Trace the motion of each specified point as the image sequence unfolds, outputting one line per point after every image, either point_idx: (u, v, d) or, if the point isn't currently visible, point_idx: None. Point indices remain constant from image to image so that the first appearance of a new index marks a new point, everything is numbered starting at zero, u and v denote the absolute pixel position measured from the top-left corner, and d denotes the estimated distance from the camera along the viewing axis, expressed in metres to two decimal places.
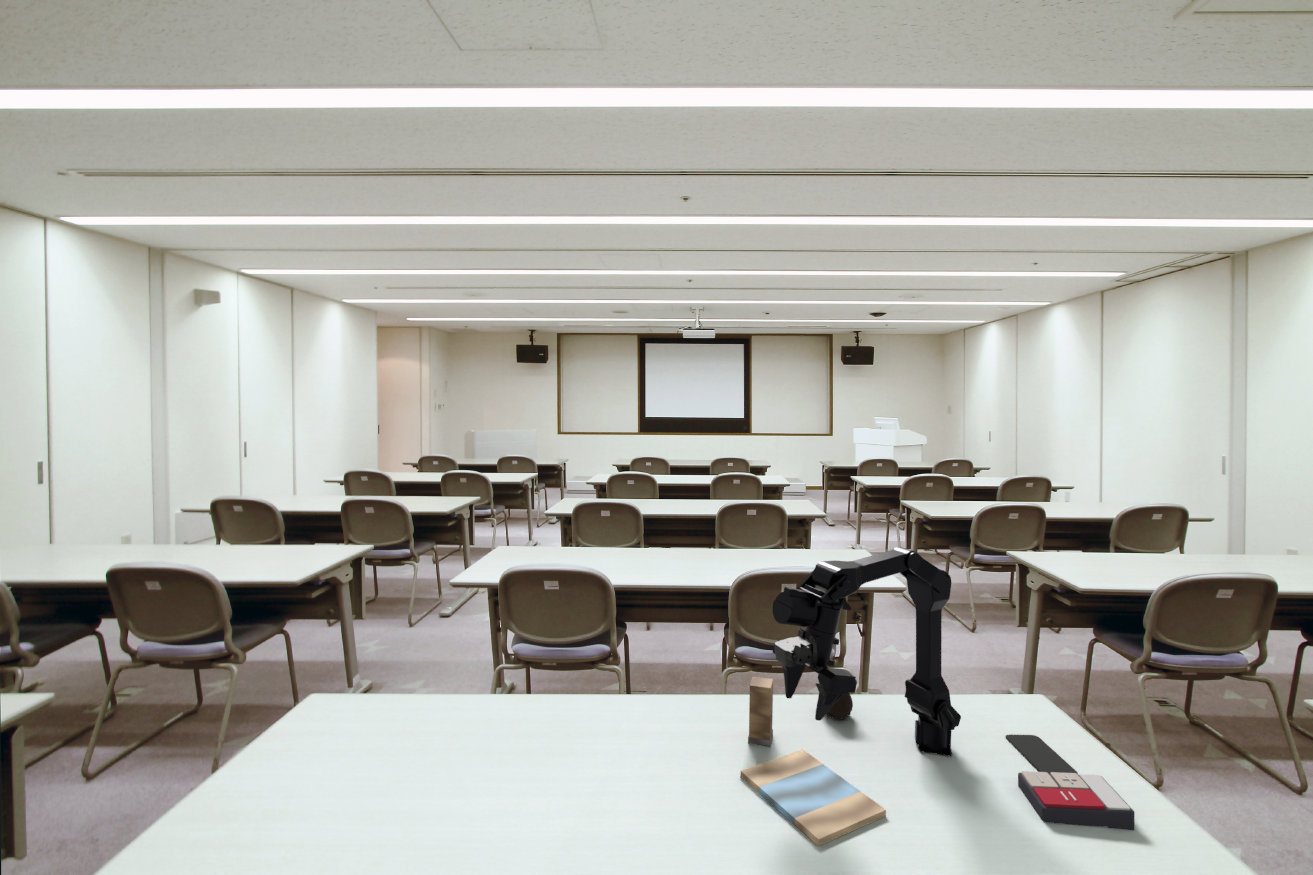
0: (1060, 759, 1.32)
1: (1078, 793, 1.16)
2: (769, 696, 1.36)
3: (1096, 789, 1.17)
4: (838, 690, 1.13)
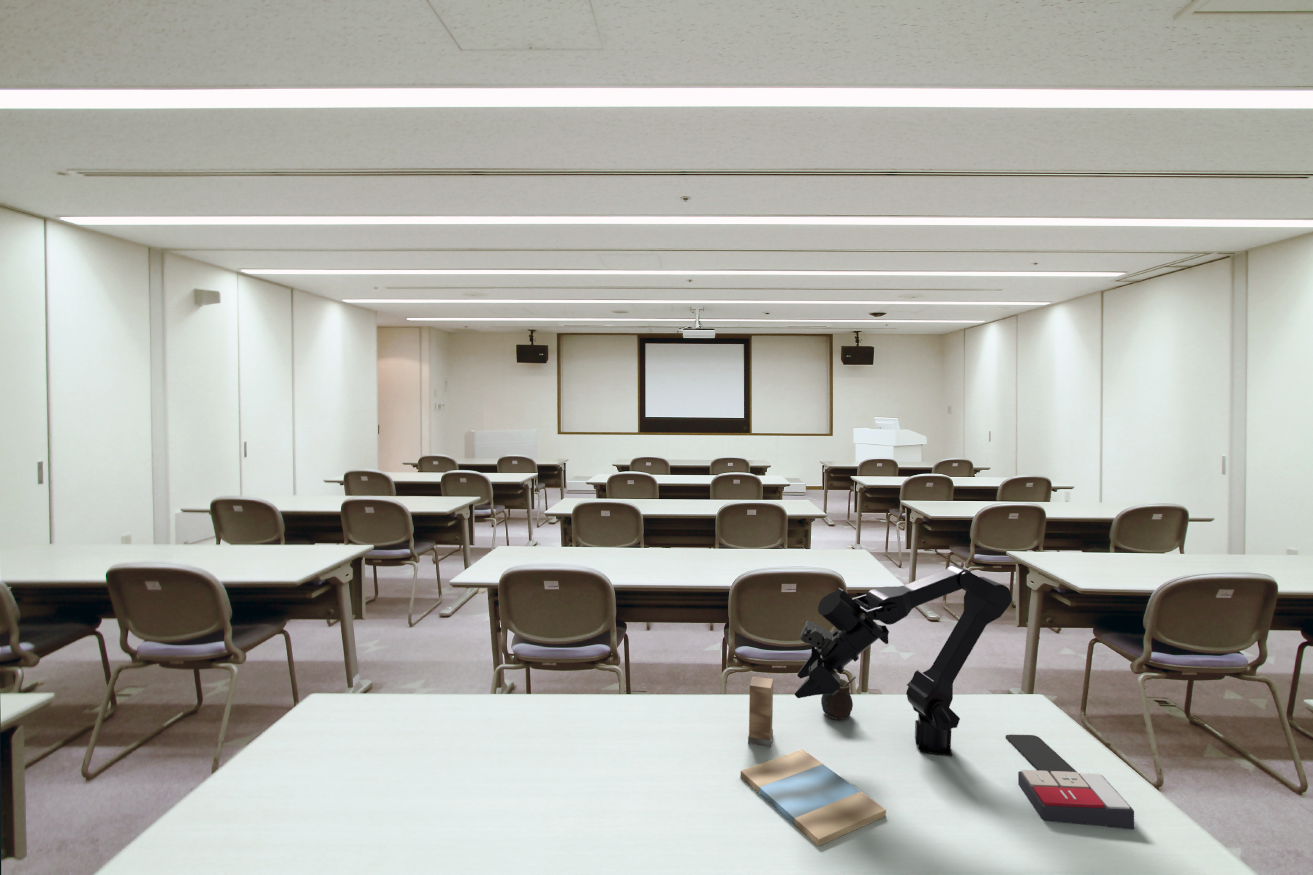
0: (1060, 759, 1.32)
1: (1078, 792, 1.16)
2: (769, 696, 1.36)
3: (1096, 788, 1.18)
4: (817, 679, 1.26)
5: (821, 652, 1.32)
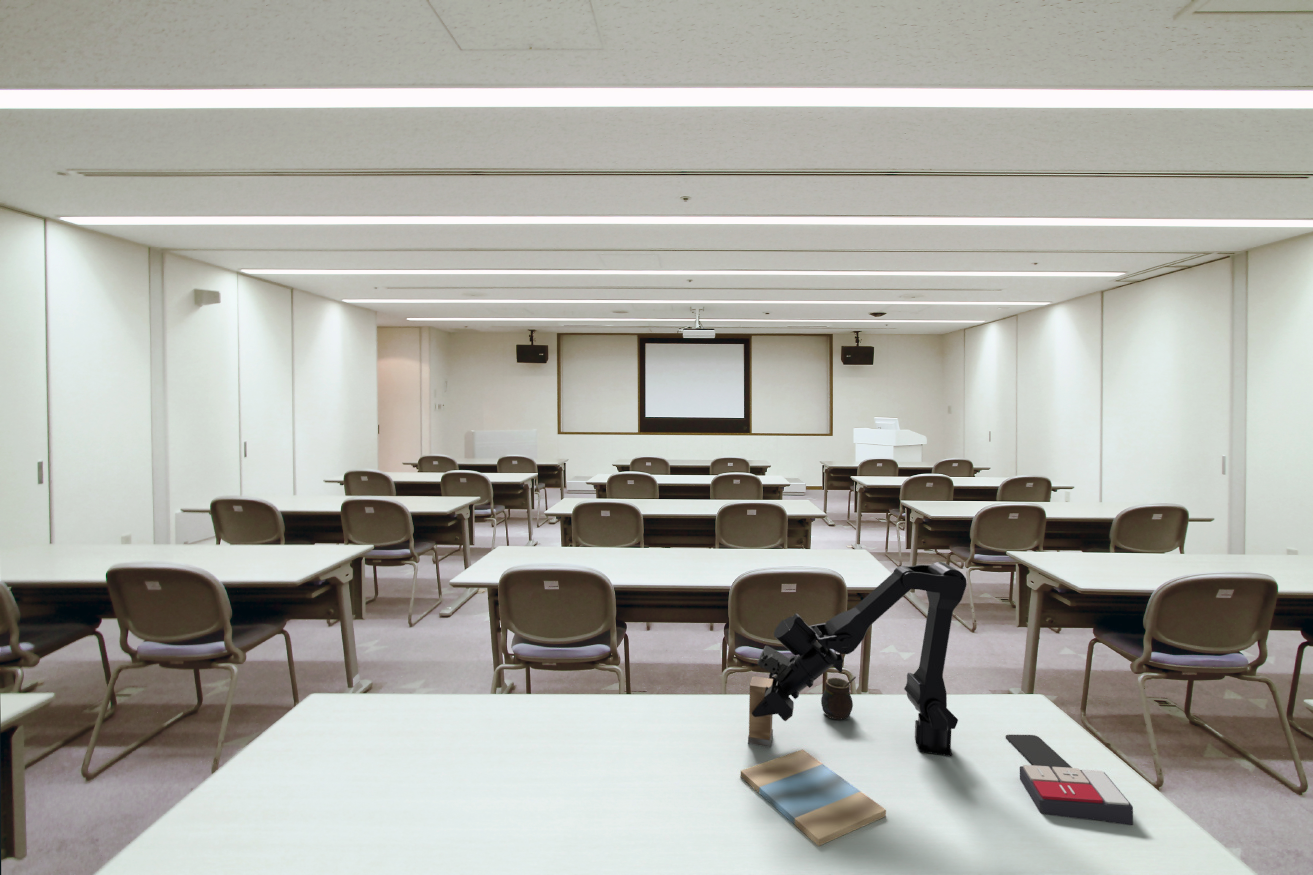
0: (1060, 759, 1.32)
1: (1077, 787, 1.18)
2: None
3: (1096, 784, 1.19)
4: (770, 704, 1.29)
5: (777, 677, 1.35)
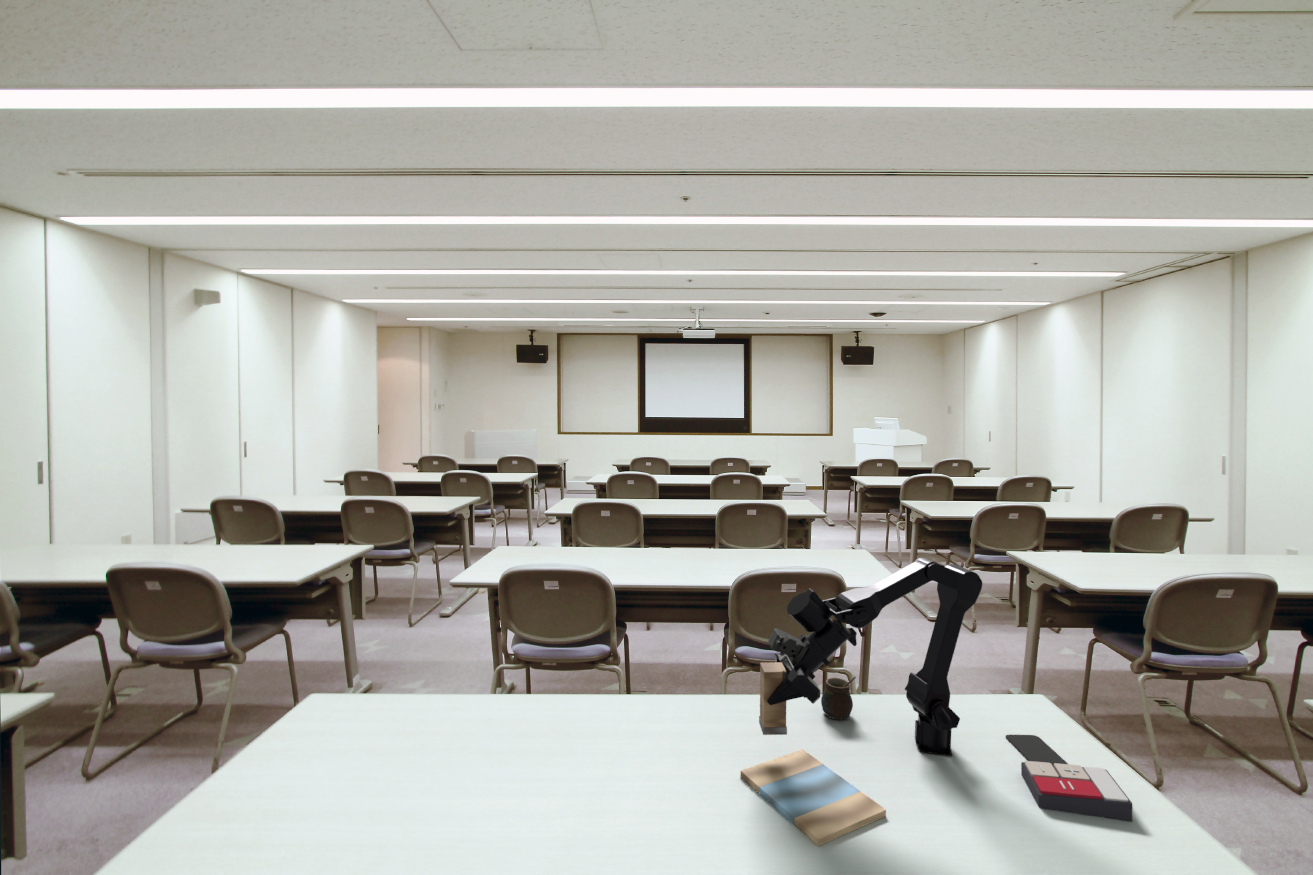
0: (1060, 759, 1.32)
1: (1077, 783, 1.19)
2: None
3: (1097, 781, 1.20)
4: (798, 688, 1.21)
5: (794, 660, 1.28)
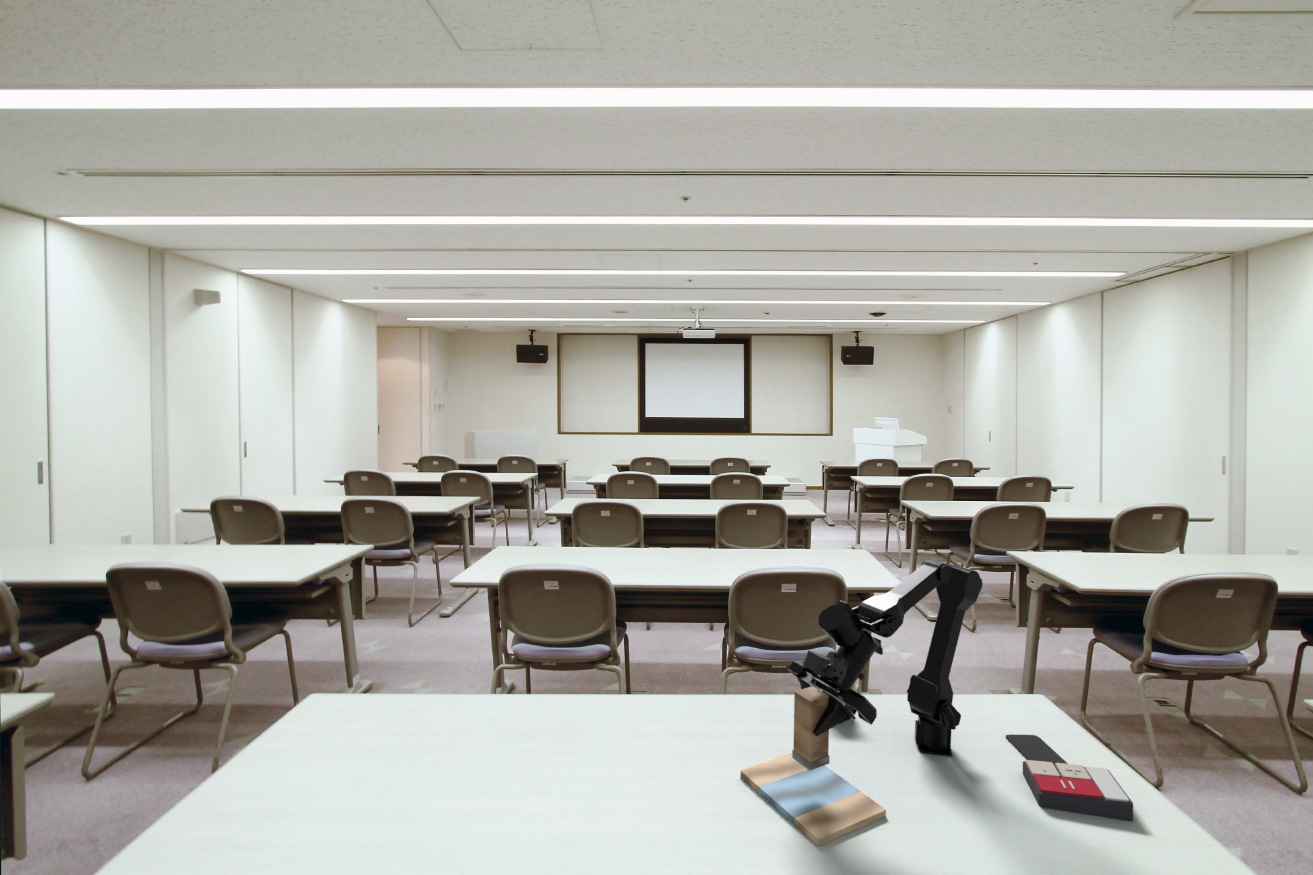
0: (1060, 759, 1.32)
1: (1078, 782, 1.19)
2: None
3: (1098, 781, 1.20)
4: (861, 712, 1.12)
5: (837, 681, 1.18)
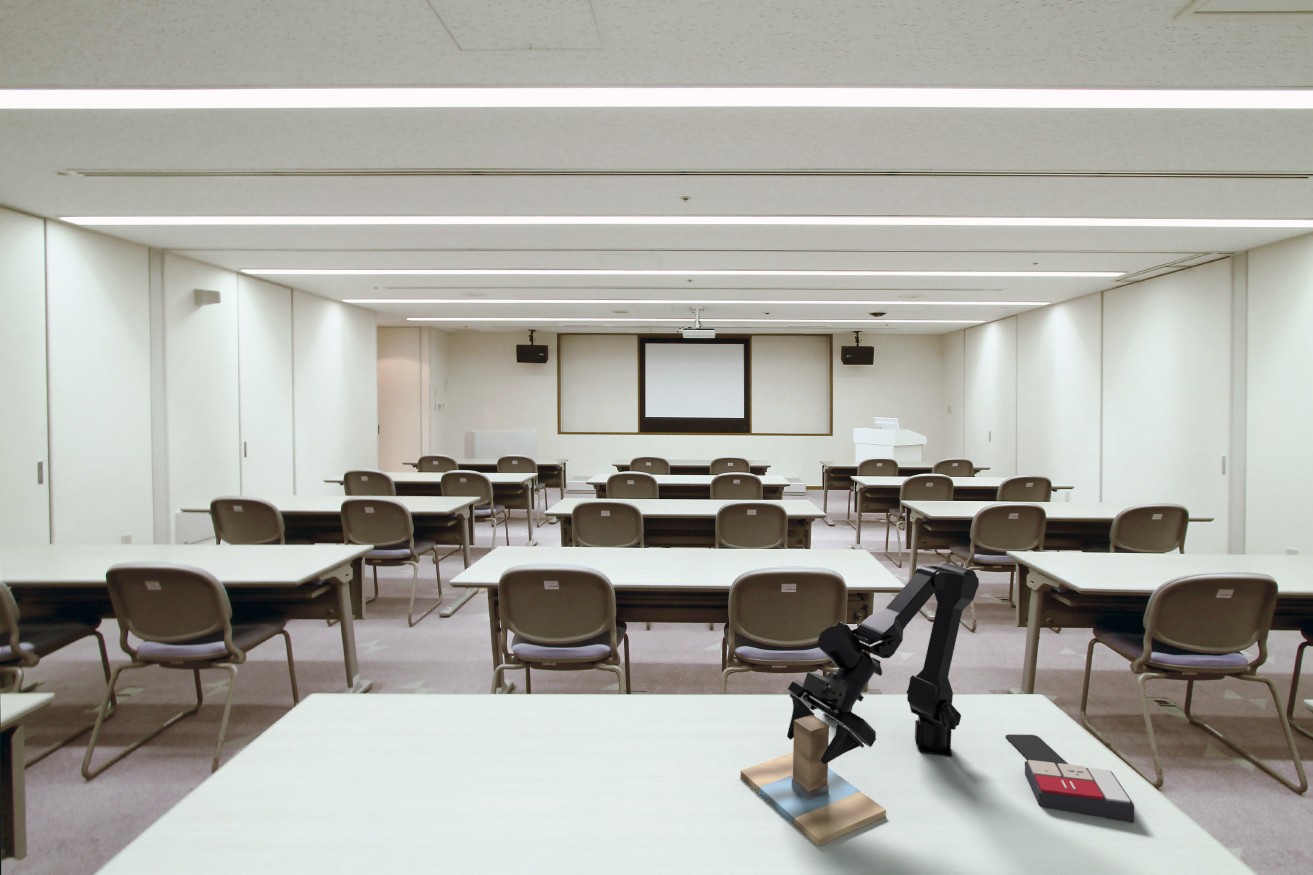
0: (1060, 759, 1.32)
1: (1079, 783, 1.19)
2: (827, 735, 1.19)
3: (1100, 782, 1.20)
4: (861, 735, 1.13)
5: (837, 703, 1.18)
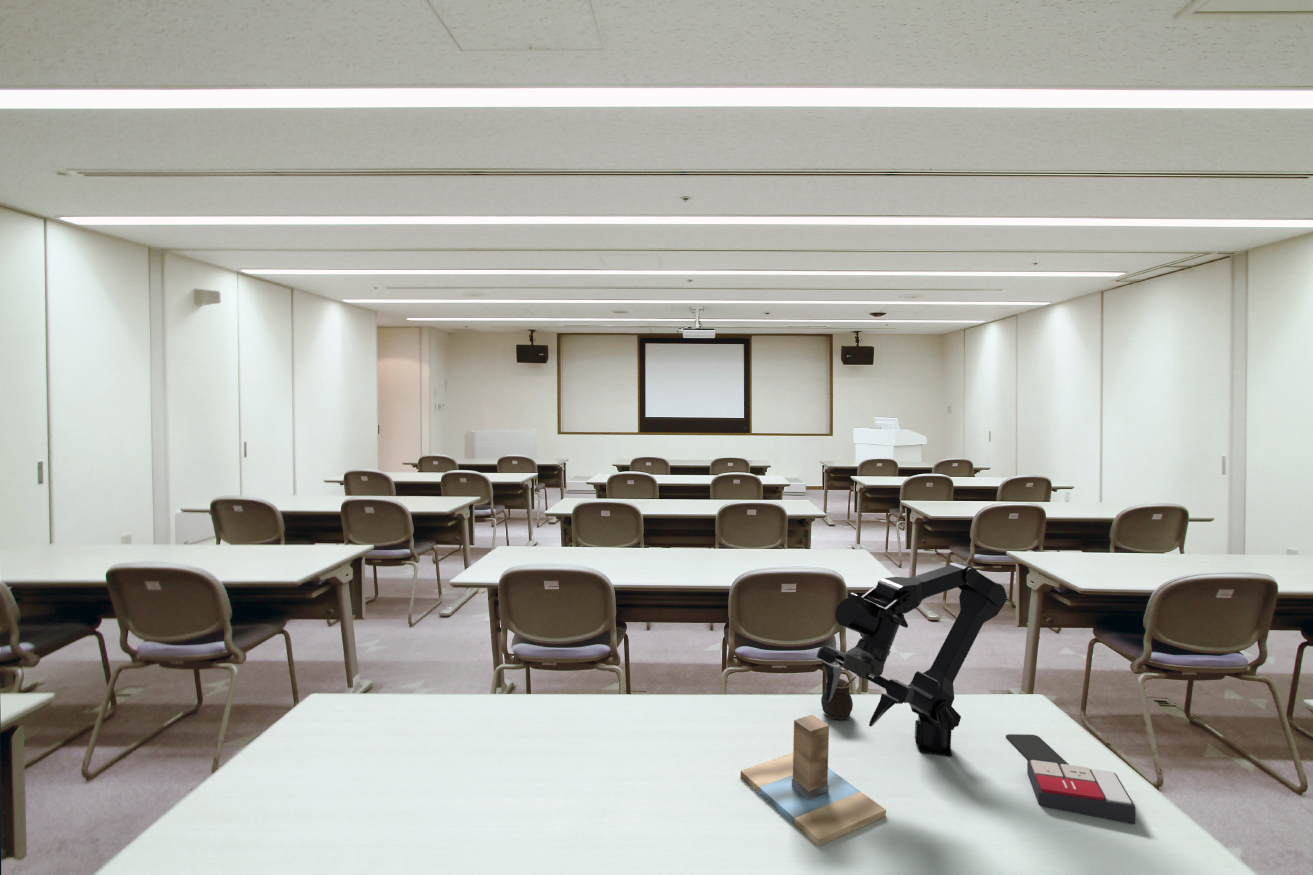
0: (1060, 759, 1.32)
1: (1081, 784, 1.19)
2: (827, 735, 1.19)
3: (1103, 783, 1.19)
4: (906, 701, 1.22)
5: None
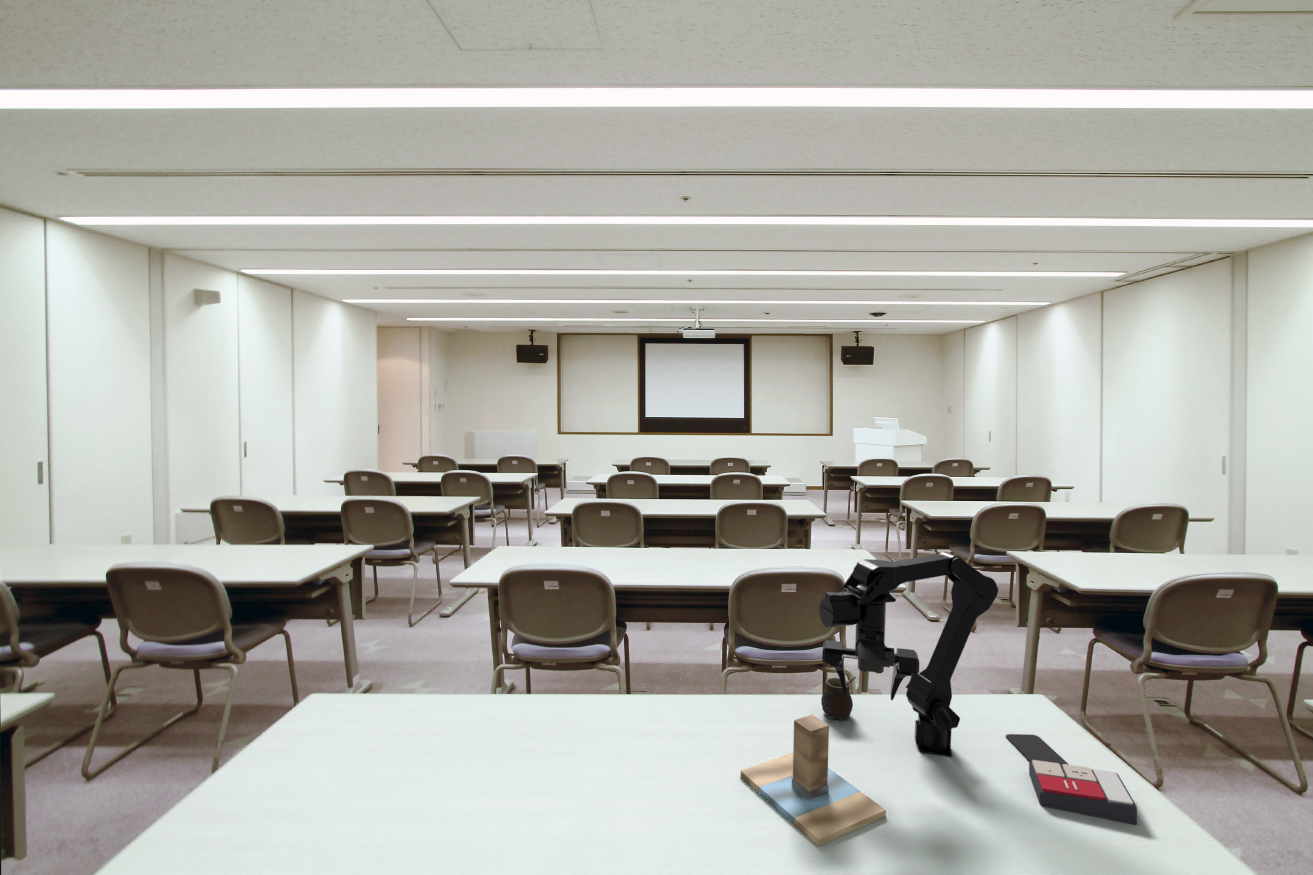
0: (1060, 759, 1.32)
1: (1082, 784, 1.19)
2: (827, 735, 1.19)
3: (1104, 783, 1.19)
4: None
5: None
